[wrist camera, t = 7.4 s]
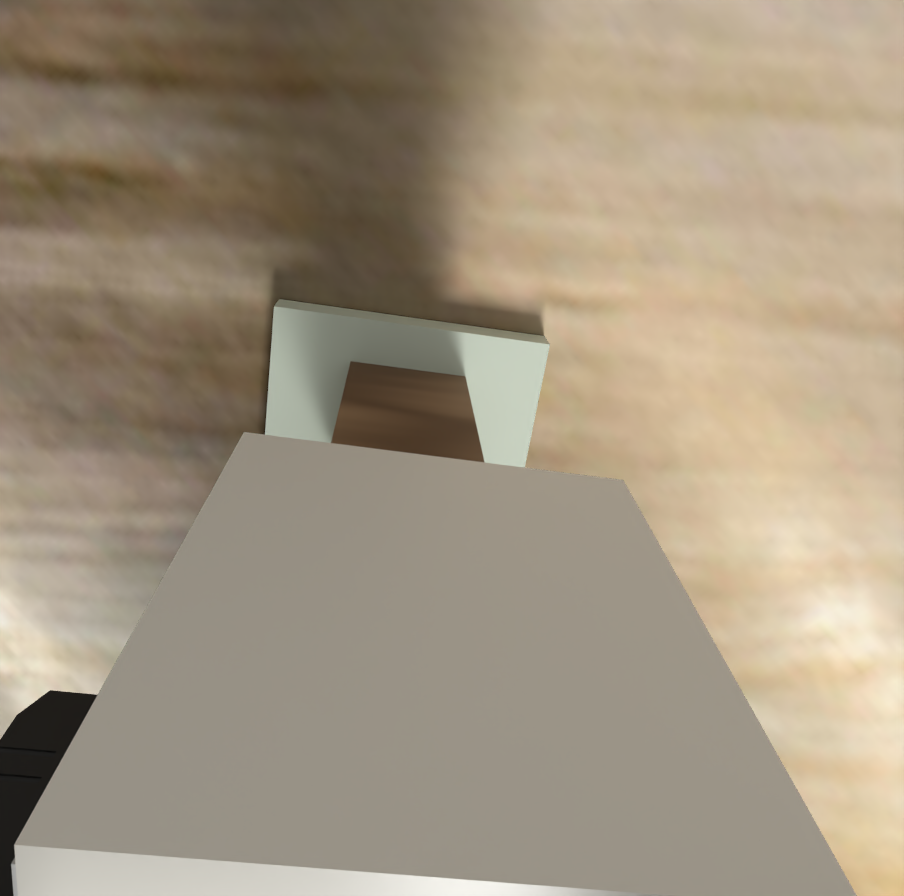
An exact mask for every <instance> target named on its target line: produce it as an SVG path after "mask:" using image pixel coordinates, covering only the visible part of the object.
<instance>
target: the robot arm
mask: <svg viewBox="0 0 904 896" xmlns="http://www.w3.org/2000/svg"><path fill="white" fill-rule="evenodd" d="M96 697H97V695H93V694H83V693H72V692H61V691H51V690H50V691H49V692H47V693H46V694H45V695H43V696H42V697H41V698H39V699H38V700H37V701H35V702H34V703H33V704H31V705H30V706H29V707H27V708H26V709H25V710H23V711H22V712H21V713H19V714H18V715H17V716H16V717H15V719H14V720H13V722H12V723H11V725H10V726H9V728H8V729H7V731H6V732H5V734H4V735H3V737H2V738H1V740H0V896H18V891H17V878H16V864H15V850H14V844H15V842H16V841H17V839H18V837H19V835H20V833H21V832H22V830H23V828H24V826H25V824H26V823H27V821H28V819H29V817H30V815H31V814H32V812H33V810H34V808H35V806H36V805H37V803H38V801H39V799H40V797H41V796H42V794H43V792H44V790H45V789H46V787H47V785H48V783H49V781H50V780H51V778H52V776H53V774H54V772H55V771H56V769H57V767H58V765H59V763H60V762H61V760H62V758H63V756H64V754H65V753H66V751H67V749H68V747H69V745H70V744H71V742H72V740H73V738H74V736H75V735H76V733H77V731H78V729H79V727H80V726H81V724H82V722H83V720H84V718H85V717H86V715H87V713H88V711H89V710H90V708H91V706H92V704H93V702H94V701H95V699H96Z"/></svg>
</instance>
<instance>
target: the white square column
mask: <svg viewBox="0 0 904 896" xmlns="http://www.w3.org/2000/svg"><path fill="white" fill-rule="evenodd" d="M14 850H15V864H16V878H17V891H18V896H857V895H856V894H855V892H854V890H853V888H852V886H851V885H850V883H849V881H848V879H847V878H846V876H845V874H844V872H843V870H842V869H841V867H840V865H839V863H838V862H837V860H836V858H835V856H834V854H833V853H832V851H831V849H830V847H829V846H828V844H827V842H826V840H825V838H824V837H823V835H822V833H821V831H820V829H819V828H818V826H817V824H816V822H815V821H814V819H813V817H812V815H811V813H810V812H809V810H808V808H807V806H806V805H805V803H804V801H803V799H802V797H801V796H800V794H799V792H798V790H797V789H796V787H795V785H794V783H793V781H792V780H791V778H790V776H789V774H788V772H787V771H786V769H785V767H784V765H783V764H782V762H781V760H780V758H779V756H778V755H777V753H776V751H775V749H774V748H773V746H772V744H771V742H770V740H769V739H768V737H767V735H766V733H765V732H764V730H763V728H762V726H761V724H760V723H759V721H758V719H757V717H756V716H755V714H754V712H753V710H752V708H751V707H750V705H749V703H748V701H747V699H746V698H745V696H744V694H743V692H742V691H741V689H740V687H739V685H738V683H737V682H736V680H735V678H734V676H733V675H732V673H731V671H730V669H729V667H728V666H727V664H726V662H725V660H724V659H723V657H722V655H721V653H720V651H719V650H718V648H717V646H716V644H715V643H714V641H713V639H712V637H711V635H710V634H709V632H708V630H707V628H706V626H705V625H704V623H703V621H702V619H701V618H700V616H699V614H698V612H697V610H696V609H695V607H694V605H693V603H692V602H691V600H690V598H689V596H688V594H687V593H686V591H685V589H684V587H683V586H682V584H681V582H680V580H679V578H678V577H677V575H676V573H675V571H674V570H673V568H672V566H671V564H670V562H669V561H668V559H667V557H666V555H665V553H664V552H663V550H662V548H661V546H660V545H659V543H658V541H657V539H656V537H655V536H654V534H653V532H652V530H651V529H650V527H649V525H648V523H647V521H646V520H645V518H644V516H643V514H642V513H641V511H640V509H639V507H638V505H637V504H636V502H635V500H634V498H633V497H632V495H631V493H630V491H629V489H628V488H627V486H626V484H625V482H624V480H619V479H611V478H603V477H595V476H587V475H579V474H572V473H564V472H556V471H548V470H540V469H532V468H524V467H516V466H508V465H500V464H493V463H485V462H477V461H469V460H461V459H453V458H445V457H437V456H429V455H421V454H414V453H406V452H398V451H390V450H382V449H374V448H366V447H358V446H350V445H343V444H335V443H327V442H319V441H311V440H303V439H295V438H287V437H279V436H271V435H264V434H256V433H248V432H244V433H243V435H242V437H241V438H240V440H239V442H238V444H237V446H236V447H235V449H234V451H233V453H232V455H231V456H230V458H229V460H228V462H227V464H226V465H225V467H224V469H223V471H222V473H221V474H220V476H219V478H218V480H217V482H216V483H215V485H214V487H213V489H212V490H211V492H210V494H209V496H208V498H207V499H206V501H205V503H204V505H203V507H202V508H201V510H200V512H199V514H198V516H197V517H196V519H195V521H194V523H193V525H192V526H191V528H190V530H189V532H188V534H187V535H186V537H185V539H184V541H183V543H182V544H181V546H180V548H179V550H178V552H177V553H176V555H175V557H174V559H173V561H172V562H171V564H170V566H169V568H168V569H167V571H166V573H165V575H164V577H163V578H162V580H161V582H160V584H159V586H158V587H157V589H156V591H155V593H154V595H153V596H152V598H151V600H150V602H149V604H148V605H147V607H146V609H145V611H144V613H143V614H142V616H141V618H140V620H139V622H138V623H137V625H136V627H135V629H134V631H133V632H132V634H131V636H130V638H129V639H128V641H127V643H126V645H125V647H124V648H123V650H122V652H121V654H120V656H119V657H118V659H117V661H116V663H115V665H114V666H113V668H112V670H111V672H110V674H109V675H108V677H107V679H106V681H105V683H104V684H103V686H102V688H101V690H100V692H99V693H98V695H97V697H96V699H95V701H94V702H93V704H92V706H91V708H90V710H89V711H88V713H87V715H86V717H85V718H84V720H83V722H82V724H81V726H80V727H79V729H78V731H77V733H76V735H75V736H74V738H73V740H72V742H71V744H70V745H69V747H68V749H67V751H66V753H65V754H64V756H63V758H62V760H61V762H60V763H59V765H58V767H57V769H56V771H55V772H54V774H53V776H52V778H51V780H50V781H49V783H48V785H47V787H46V789H45V790H44V792H43V794H42V796H41V797H40V799H39V801H38V803H37V805H36V806H35V808H34V810H33V812H32V814H31V815H30V817H29V819H28V821H27V823H26V824H25V826H24V828H23V830H22V832H21V833H20V835H19V837H18V839H17V841H16V842H15V844H14Z"/></svg>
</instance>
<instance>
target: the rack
mask: <svg viewBox="0 0 904 896" xmlns="http://www.w3.org/2000/svg"><path fill="white" fill-rule="evenodd" d="M549 346H550V344H549V343H548V341H547V339H546V338H545V336H541V335H534V334H527V333H519V332H512V331H505V330H498V329H491V328H484V327H476V326H469V325H462V324H455V323H448V322H441V321H433V320H426V319H419V318H412V317H405V316H398V315H390V314H383V313H376V312H369V311H362V310H355V309H347V308H340V307H333V306H326V305H319V304H312V303H304V302H297V301H290V300H283V299H279V300H278V301H277V303H276V304H275V306H274V314H273V328H272V342H271V356H270V370H269V384H268V399H267V413H266V427H265V435H271V436H279V437H287V438H295V439H303V440H311V441H319V442H327V443H331V441H332V436H333V432H334V428H335V424H336V420H337V416H338V412H339V407H340V403H341V399H342V395H343V391H344V387H345V382H346V378H347V374H348V370H349V366H350V362H351V361H353V362H361V363H368V364H376V365H383V366H391V367H398V368H406V369H413V370H421V371H429V372H436V373H444V374H451V375H459V376H465V377H466V381H467V386H468V390H469V395H470V399H471V404H472V408H473V413H474V417H475V421H476V426H477V430H478V435H479V439H480V444H481V448H482V453H483V457H484V462H485V463H493V464H500V465H508V466H516V467H524V468H525V463H526V459H527V454H528V449H529V444H530V439H531V434H532V429H533V424H534V419H535V414H536V410H537V405H538V400H539V395H540V390H541V385H542V380H543V375H544V370H545V365H546V361H547V356H548V351H549Z"/></svg>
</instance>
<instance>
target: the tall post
mask: <svg viewBox="0 0 904 896" xmlns="http://www.w3.org/2000/svg"><path fill="white" fill-rule="evenodd" d="M331 443H335V444H343V445H350V446H358V447H366V448H374V449H382V450H390V451H398V452H406V453H414V454H421V455H429V456H437V457H445V458H453V459H461V460H469V461H477V462H484V457H483V453H482V448H481V444H480V439H479V435H478V430H477V426H476V421H475V417H474V413H473V408H472V404H471V399H470V395H469V390H468V386H467V381H466V377H465V376H459V375H451V374H444V373H436V372H429V371H421V370H413V369H406V368H398V367H391V366H383V365H376V364H368V363H361V362H353V361H351V362H350V366H349V370H348V374H347V378H346V382H345V387H344V391H343V395H342V399H341V403H340V407H339V412H338V416H337V420H336V424H335V428H334V432H333V436H332V441H331Z"/></svg>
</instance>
